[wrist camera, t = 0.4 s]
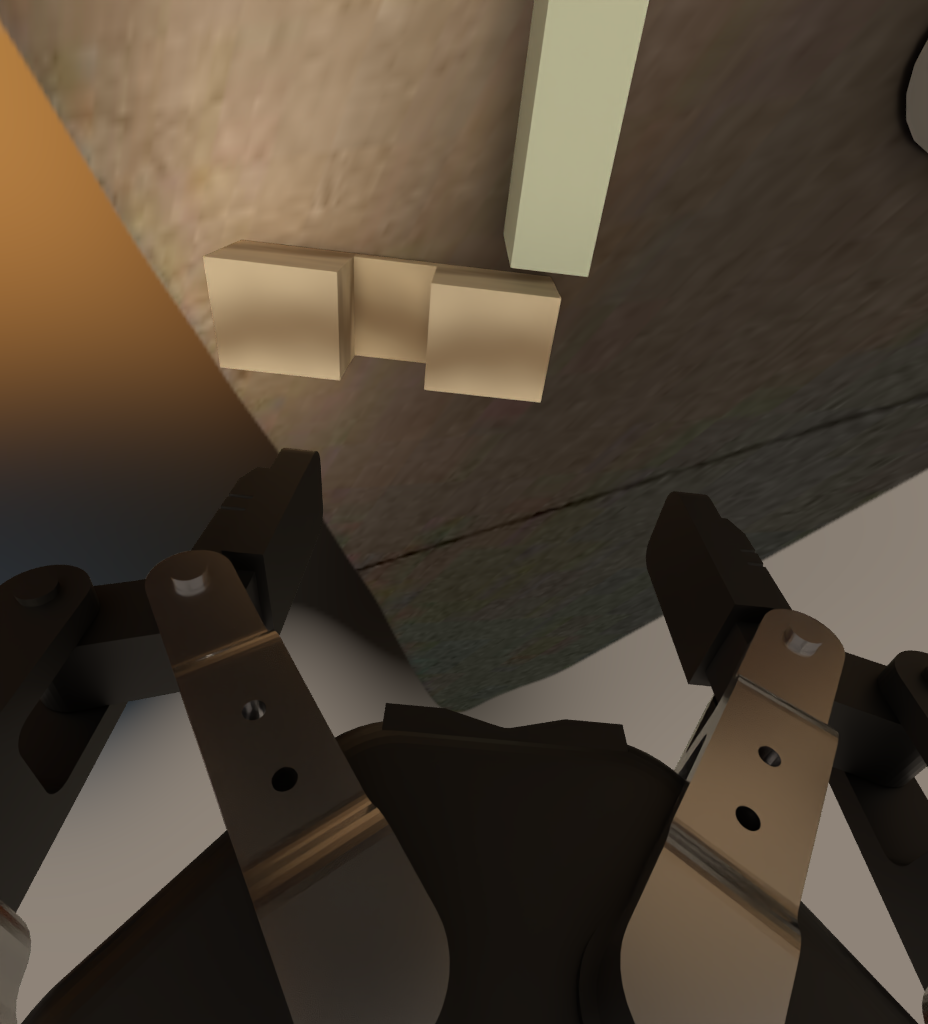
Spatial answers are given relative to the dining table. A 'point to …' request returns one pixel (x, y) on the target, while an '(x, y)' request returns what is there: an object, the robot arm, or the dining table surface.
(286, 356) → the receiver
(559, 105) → the sage green tall block
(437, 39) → the dining table surface
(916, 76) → the can
